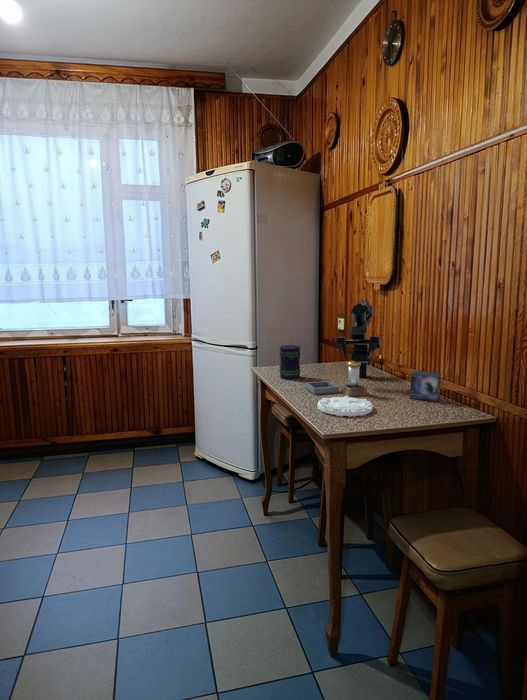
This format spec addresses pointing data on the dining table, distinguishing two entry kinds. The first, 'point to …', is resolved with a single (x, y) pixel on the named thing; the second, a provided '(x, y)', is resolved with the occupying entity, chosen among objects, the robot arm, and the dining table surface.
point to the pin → (353, 374)
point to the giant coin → (345, 406)
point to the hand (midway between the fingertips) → (356, 359)
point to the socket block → (353, 390)
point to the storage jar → (289, 362)
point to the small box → (425, 386)
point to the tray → (321, 387)
